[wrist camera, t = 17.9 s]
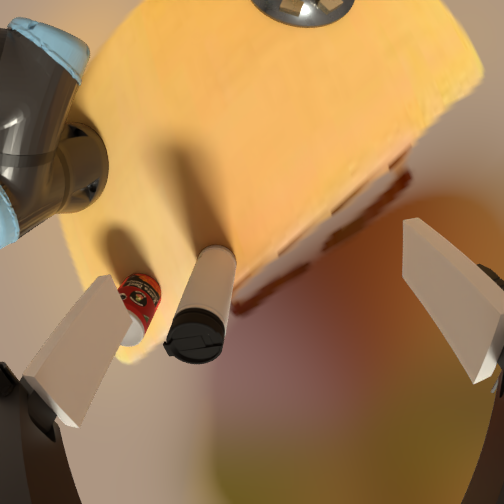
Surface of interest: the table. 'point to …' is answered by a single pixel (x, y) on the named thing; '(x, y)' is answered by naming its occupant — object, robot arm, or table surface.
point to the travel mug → (203, 308)
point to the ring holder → (304, 11)
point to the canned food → (139, 305)
